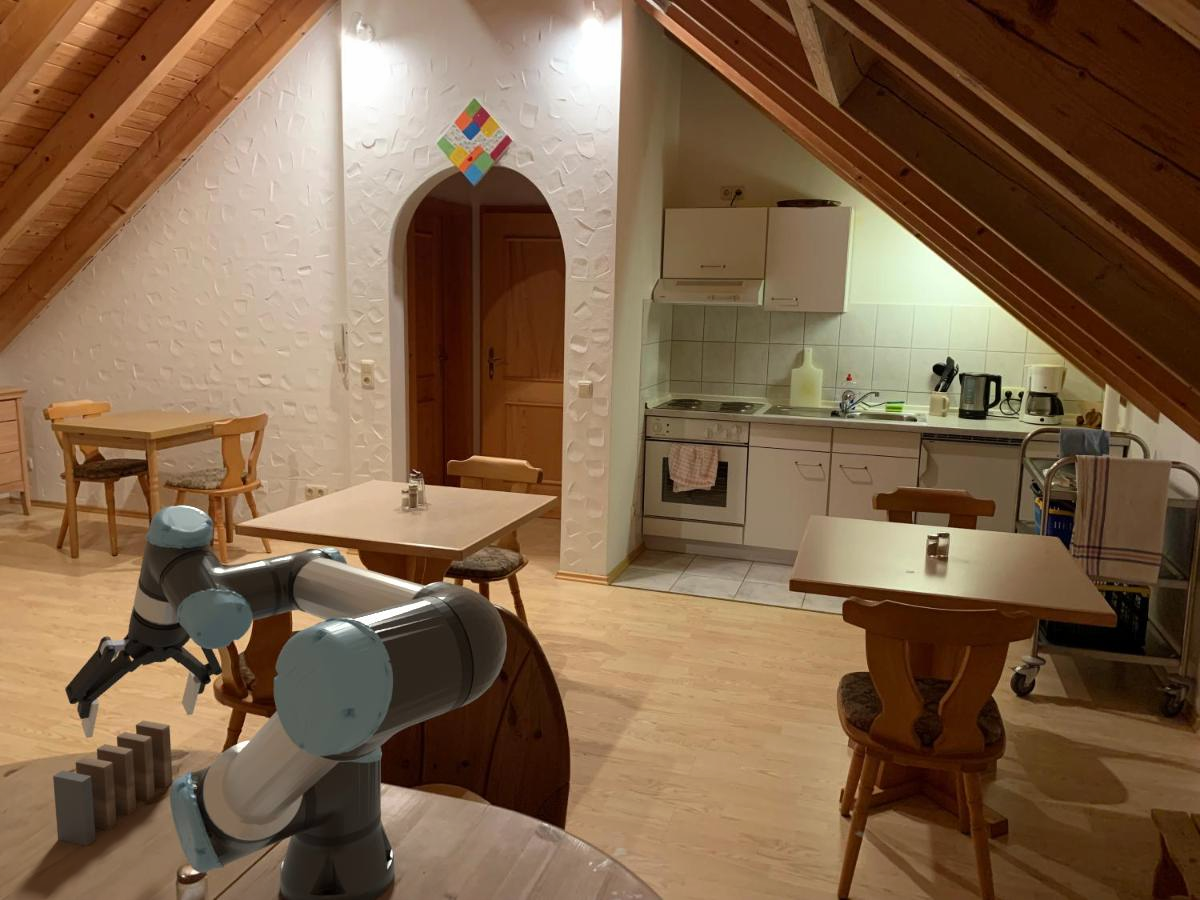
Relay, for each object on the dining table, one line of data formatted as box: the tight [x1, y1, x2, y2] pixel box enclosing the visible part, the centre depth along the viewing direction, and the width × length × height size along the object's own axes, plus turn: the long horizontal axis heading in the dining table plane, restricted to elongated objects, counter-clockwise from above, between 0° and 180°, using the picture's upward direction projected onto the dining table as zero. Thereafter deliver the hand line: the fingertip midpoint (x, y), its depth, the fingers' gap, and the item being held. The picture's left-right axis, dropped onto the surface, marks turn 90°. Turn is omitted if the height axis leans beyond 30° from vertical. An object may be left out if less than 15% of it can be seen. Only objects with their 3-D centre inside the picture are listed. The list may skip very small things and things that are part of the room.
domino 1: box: [52, 769, 96, 847], centre depth 130 cm, size 2×5×10 cm, turn 76°
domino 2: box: [75, 756, 117, 831], centre depth 134 cm, size 2×5×10 cm, turn 76°
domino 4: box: [116, 731, 156, 802], centre depth 142 cm, size 2×5×10 cm, turn 76°
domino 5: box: [135, 719, 174, 788], centre depth 145 cm, size 2×5×10 cm, turn 76°
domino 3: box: [96, 743, 137, 816], centre depth 138 cm, size 2×5×10 cm, turn 76°
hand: (138, 719), depth 132 cm, fingers open, 13 cm apart
